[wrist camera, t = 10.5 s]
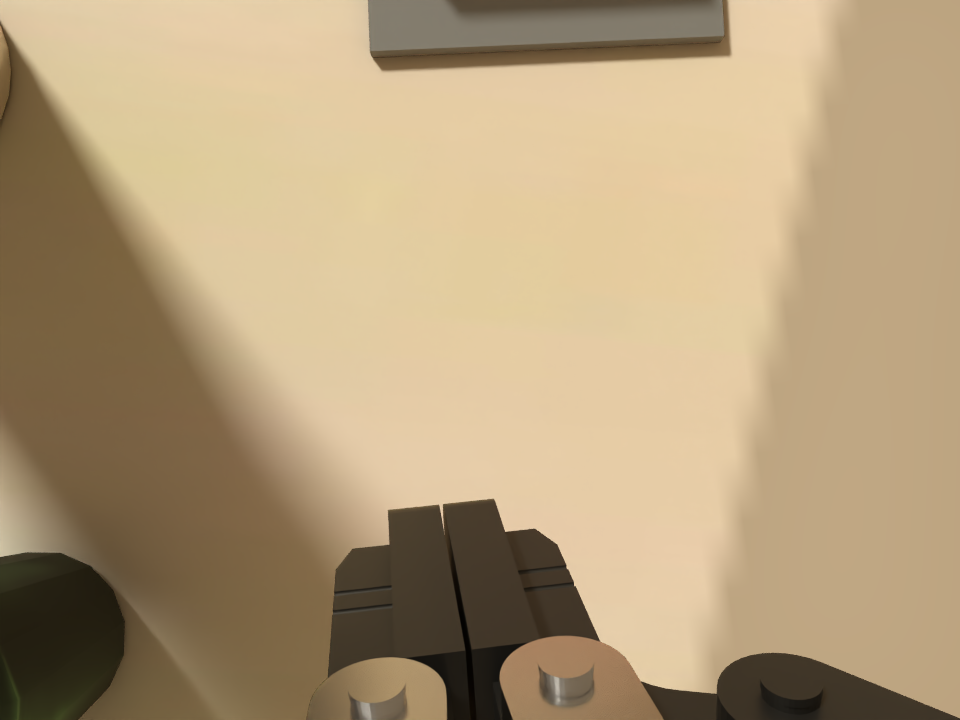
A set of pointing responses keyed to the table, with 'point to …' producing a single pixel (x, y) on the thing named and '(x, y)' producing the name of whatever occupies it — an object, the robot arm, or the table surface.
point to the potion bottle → (55, 637)
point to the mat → (537, 24)
